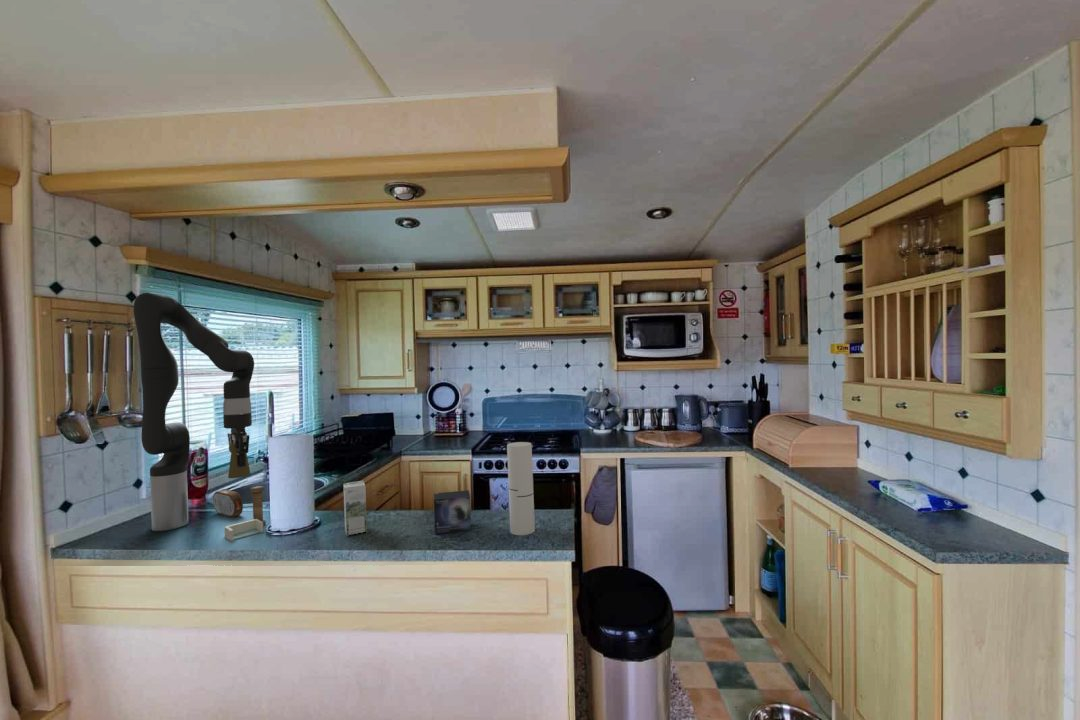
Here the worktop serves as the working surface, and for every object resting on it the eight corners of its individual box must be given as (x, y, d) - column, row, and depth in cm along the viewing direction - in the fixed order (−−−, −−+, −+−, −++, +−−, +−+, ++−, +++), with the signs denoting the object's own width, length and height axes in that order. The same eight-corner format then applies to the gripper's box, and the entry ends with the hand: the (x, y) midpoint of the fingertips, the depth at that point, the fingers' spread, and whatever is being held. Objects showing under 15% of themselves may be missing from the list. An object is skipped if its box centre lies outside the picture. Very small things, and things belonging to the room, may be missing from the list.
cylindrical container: (517, 524, 135) (514, 441, 136) (539, 527, 132) (535, 442, 132) (505, 533, 129) (502, 445, 129) (527, 536, 126) (524, 447, 126)
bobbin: (249, 526, 144) (247, 488, 144) (263, 522, 147) (261, 485, 147) (253, 528, 141) (252, 490, 141) (267, 524, 144) (266, 487, 144)
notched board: (224, 536, 135) (224, 526, 135) (256, 528, 141) (256, 518, 141) (230, 541, 131) (230, 530, 131) (263, 531, 138) (263, 522, 138)
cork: (239, 478, 141) (238, 443, 141) (223, 478, 142) (222, 443, 142) (255, 473, 147) (254, 439, 147) (239, 473, 148) (238, 439, 148)
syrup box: (364, 526, 139) (363, 479, 139) (367, 533, 134) (365, 484, 134) (344, 530, 136) (343, 482, 136) (346, 537, 131) (344, 487, 131)
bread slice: (244, 516, 154) (243, 491, 154) (234, 519, 151) (233, 494, 151) (221, 510, 161) (220, 487, 161) (211, 513, 158) (210, 489, 158)
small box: (434, 535, 129) (433, 499, 130) (434, 527, 136) (433, 493, 136) (471, 531, 132) (470, 495, 132) (469, 523, 138) (468, 489, 138)
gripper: (217, 412, 147) (218, 465, 147) (230, 414, 137) (232, 471, 137) (243, 410, 152) (245, 461, 152) (258, 412, 143) (260, 466, 143)
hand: (239, 465), depth 145 cm, fingers closed on cork, 4 cm apart
